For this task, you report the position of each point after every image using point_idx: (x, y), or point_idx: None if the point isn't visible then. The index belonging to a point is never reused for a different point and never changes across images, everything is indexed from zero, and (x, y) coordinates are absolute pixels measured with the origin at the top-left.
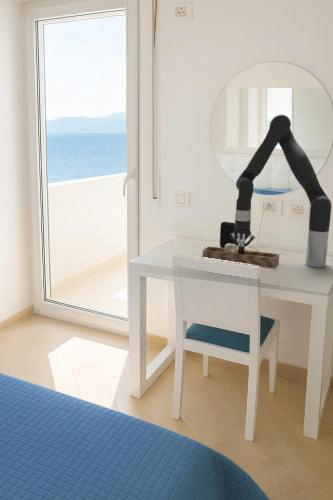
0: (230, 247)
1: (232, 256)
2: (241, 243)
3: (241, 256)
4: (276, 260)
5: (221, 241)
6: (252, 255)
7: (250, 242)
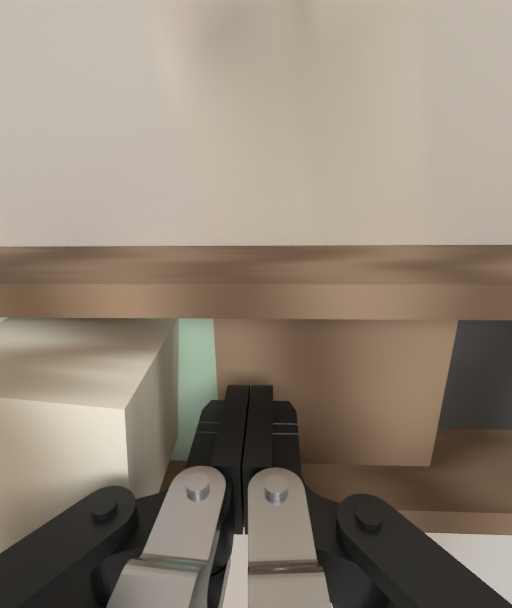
0: None
1: None
2: (220, 526)
3: None
4: None
5: None
6: (439, 520)
7: (465, 585)
